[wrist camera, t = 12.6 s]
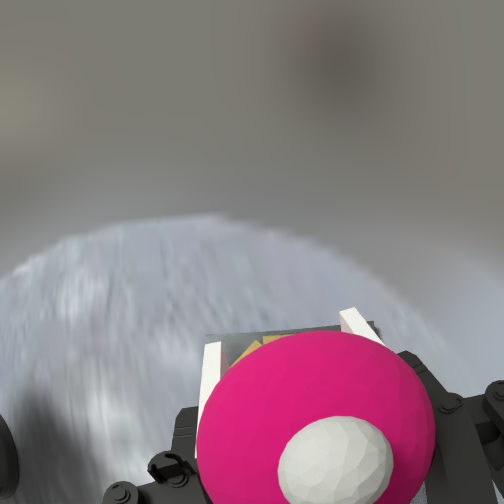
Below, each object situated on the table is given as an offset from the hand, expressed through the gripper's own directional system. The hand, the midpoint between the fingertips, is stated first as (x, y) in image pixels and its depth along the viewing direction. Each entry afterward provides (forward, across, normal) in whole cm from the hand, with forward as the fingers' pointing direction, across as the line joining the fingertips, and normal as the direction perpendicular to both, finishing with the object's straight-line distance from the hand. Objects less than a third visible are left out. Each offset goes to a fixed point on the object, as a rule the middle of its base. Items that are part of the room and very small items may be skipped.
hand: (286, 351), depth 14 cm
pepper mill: (+4, 0, -9) cm, 10 cm away
